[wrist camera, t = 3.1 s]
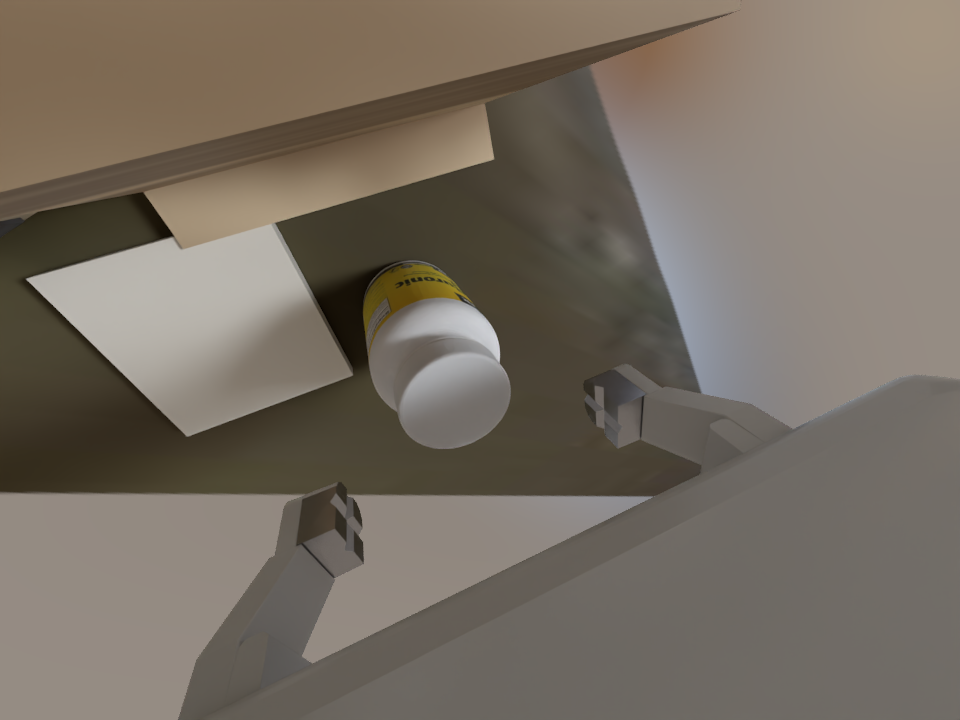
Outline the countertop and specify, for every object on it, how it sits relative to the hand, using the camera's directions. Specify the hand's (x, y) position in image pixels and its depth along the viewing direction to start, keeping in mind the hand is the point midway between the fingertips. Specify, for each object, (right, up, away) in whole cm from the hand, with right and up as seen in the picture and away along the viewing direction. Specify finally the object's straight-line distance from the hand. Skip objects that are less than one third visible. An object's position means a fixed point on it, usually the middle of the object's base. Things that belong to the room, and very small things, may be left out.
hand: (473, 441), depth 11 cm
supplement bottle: (-4, +6, +9) cm, 11 cm away
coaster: (-12, +4, +6) cm, 15 cm away
